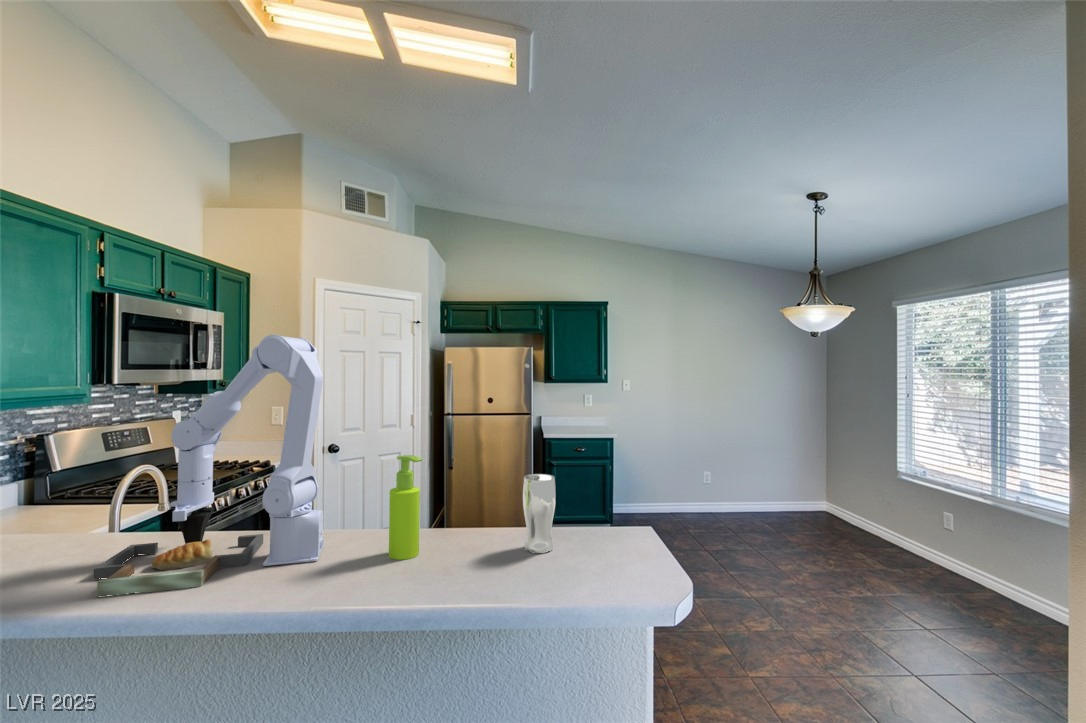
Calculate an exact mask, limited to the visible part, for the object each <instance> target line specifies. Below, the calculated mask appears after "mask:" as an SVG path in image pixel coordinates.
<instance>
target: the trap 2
mask: <svg viewBox="0 0 1086 723" xmlns="http://www.w3.org/2000/svg"><path fill="white" fill-rule="evenodd" d="M263 544H264V534H263V533H261V534H260V533H259V534H247V535H239V536H238V537H237V548H241V547H243V548H244V547H246V548H245V549H244V550H243V551H242V552H239V553H229V554H220V556H219V564H218V569H219V568H221V569H222V568H230V567H241V566H246V565H247V564H248V563H249V562H250V560H252V558H253V557H254V555H255V554H256V553H257V552H258V550H259V549H260V548H261V547H262V545H263Z"/></svg>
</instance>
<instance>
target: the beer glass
mask: <svg viewBox="0 0 1086 723" xmlns="http://www.w3.org/2000/svg"><path fill="white" fill-rule="evenodd" d="M555 478H556V477H555V475H553V474H547V473H531V474H526V475H525V476H524V477H523V488H522V507H523V508H522V509H523V515H524V520H525V525H526V526H525V527H526V528H525V530H526V535H525V536H526V537H525V540H524V550H525V549H526V550H528V551H531V552H534V553H533V554H536V553H542V554H545V553H544V552H548V551H550V552H552V551H553V550H554V542H553V537H552V536H553V535H552V534H553V533H552V530H553V529H552V528H553V527H552V526H553V520H554V515H555V509H556V481H555ZM552 549H553V550H552ZM526 550H525V551H526ZM551 550H552V551H551ZM528 551H527V552H528ZM548 553H549V552H548Z"/></svg>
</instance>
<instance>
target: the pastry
mask: <svg viewBox="0 0 1086 723" xmlns="http://www.w3.org/2000/svg"><path fill="white" fill-rule="evenodd" d="M213 557H214V552H213V548H212V540H211V539H210V538H209V539H205V540H202V541H201V542H191V543H186V544H185V543H184V544H183V545H179V546H176V547H174V548H172V549H169V550H167V551H166V552H162V553H160V554H158V555H156V557H154V559H153V560H152V561H151V567H152V568H154V569H156V570H161V571H166V569H168V570H178V569H183V568H184V569H185V568H190V567H194V566H201V565H202V566H203V565H206V564H207V563H208V562H209V561H210V560H211V559H212V558H213Z"/></svg>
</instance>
